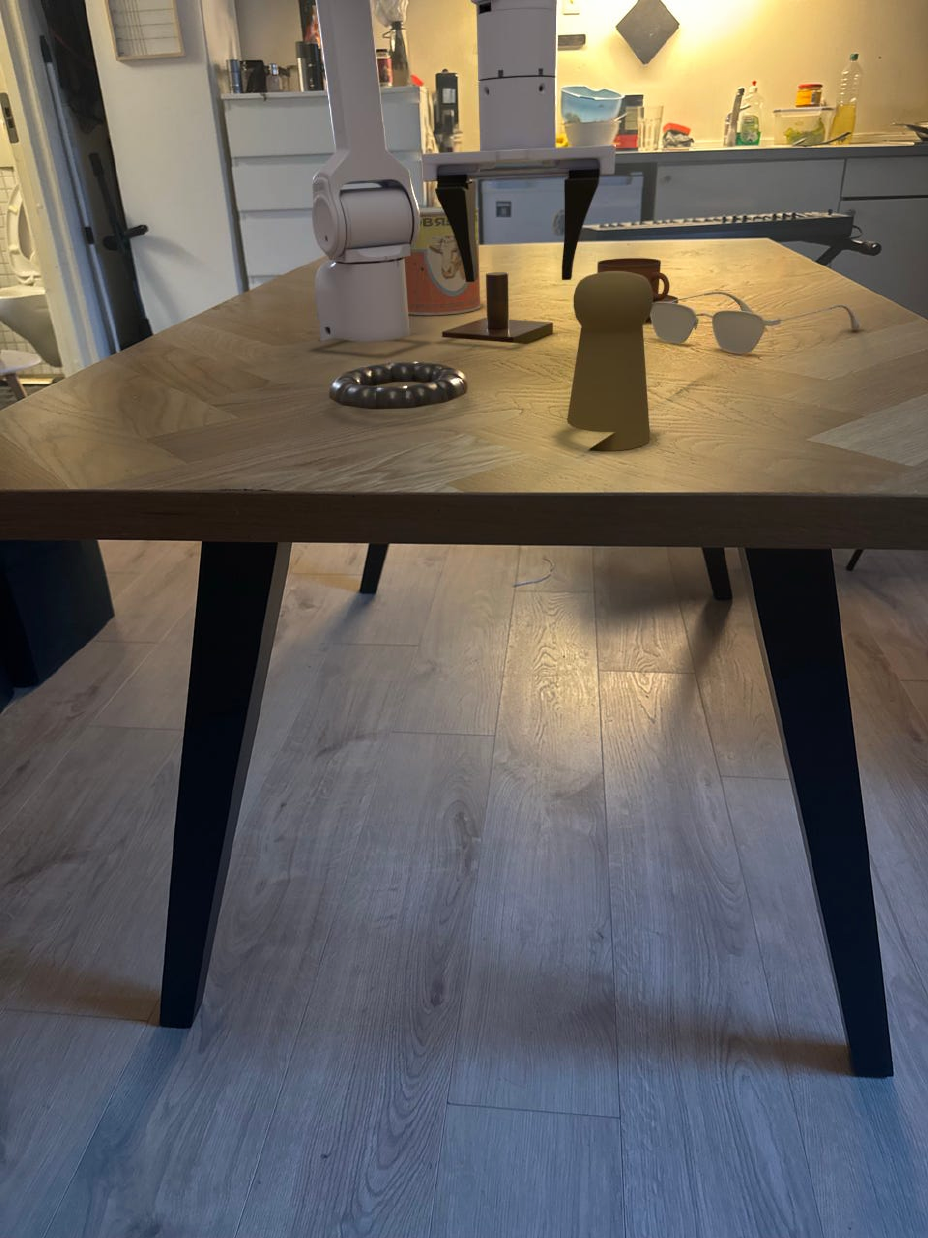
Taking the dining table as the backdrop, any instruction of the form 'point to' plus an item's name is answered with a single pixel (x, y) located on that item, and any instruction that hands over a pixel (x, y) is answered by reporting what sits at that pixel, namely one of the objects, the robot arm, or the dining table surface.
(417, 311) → the canned food
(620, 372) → the cork
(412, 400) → the ring
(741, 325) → the eyeglasses
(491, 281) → the stand
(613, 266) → the cup and saucer
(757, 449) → the dining table surface
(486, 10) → the robot arm
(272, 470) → the dining table surface
